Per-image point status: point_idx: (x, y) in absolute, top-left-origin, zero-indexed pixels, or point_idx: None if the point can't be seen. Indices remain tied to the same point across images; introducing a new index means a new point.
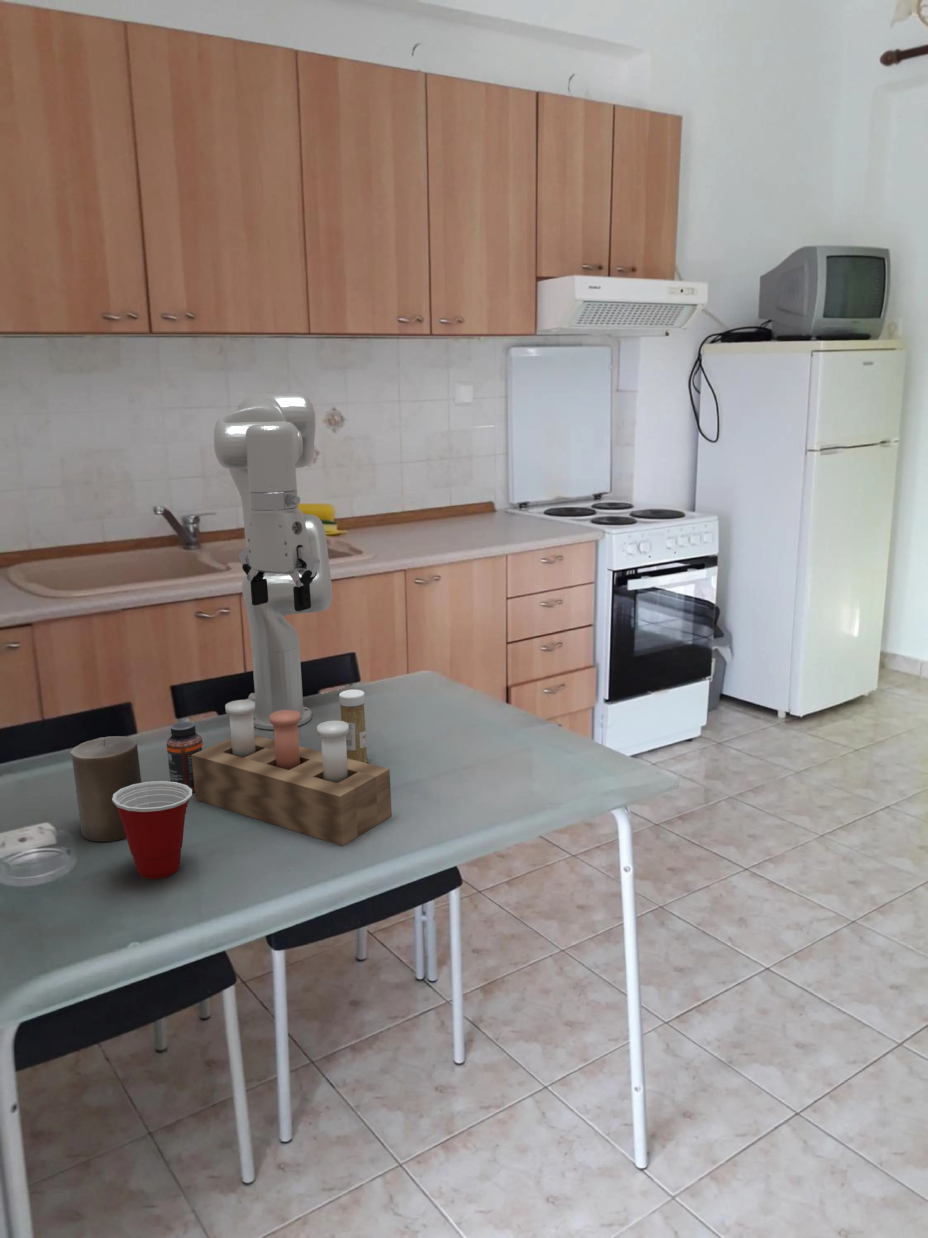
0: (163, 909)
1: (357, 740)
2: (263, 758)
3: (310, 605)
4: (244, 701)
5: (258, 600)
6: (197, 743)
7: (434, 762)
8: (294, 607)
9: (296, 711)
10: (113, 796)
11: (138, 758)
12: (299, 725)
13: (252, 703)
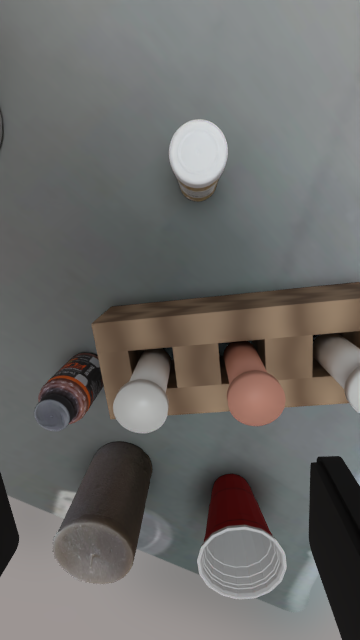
0: (290, 519)
1: (216, 183)
2: (203, 374)
3: (343, 464)
4: (132, 395)
5: (1, 544)
6: (85, 397)
7: (302, 91)
8: (314, 559)
9: (261, 377)
10: (214, 590)
11: (120, 510)
12: (1, 122)
13: (153, 393)
